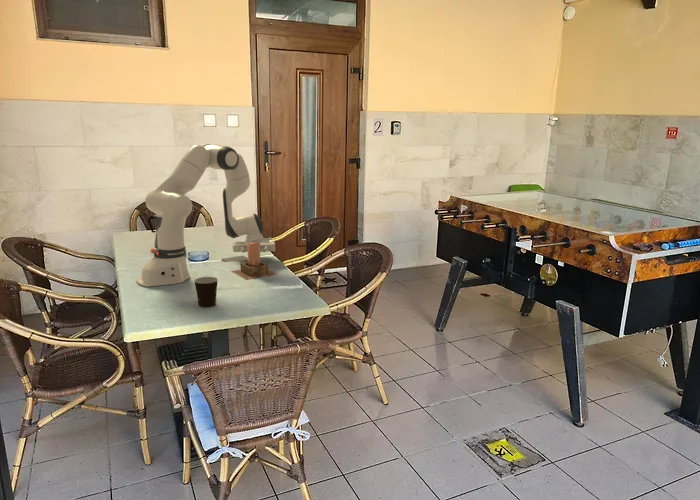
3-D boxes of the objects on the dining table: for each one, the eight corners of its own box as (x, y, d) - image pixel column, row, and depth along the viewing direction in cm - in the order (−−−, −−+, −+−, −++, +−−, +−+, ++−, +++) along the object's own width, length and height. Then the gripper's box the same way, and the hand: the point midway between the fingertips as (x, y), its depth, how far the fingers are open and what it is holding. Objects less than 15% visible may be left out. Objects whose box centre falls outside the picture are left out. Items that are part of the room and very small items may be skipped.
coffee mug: (212, 309, 199) (211, 284, 196) (191, 307, 200) (190, 282, 198) (225, 299, 210) (224, 275, 207) (205, 297, 211) (204, 273, 209)
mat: (231, 265, 257) (231, 264, 256) (221, 260, 266) (221, 258, 266) (253, 262, 264) (253, 260, 264) (243, 256, 273) (243, 255, 273)
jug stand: (246, 282, 232) (246, 271, 230) (230, 273, 244) (230, 262, 243) (278, 276, 241) (278, 265, 240) (261, 268, 253) (261, 257, 252)
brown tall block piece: (248, 270, 244) (247, 241, 241) (260, 270, 245) (259, 241, 242) (247, 276, 237) (247, 245, 233) (260, 275, 238) (259, 245, 234)
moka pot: (179, 245, 295) (177, 210, 290) (156, 250, 282) (154, 213, 277) (168, 242, 300) (166, 208, 295) (145, 248, 287) (142, 211, 282)
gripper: (232, 238, 259) (231, 244, 246) (274, 237, 262) (275, 243, 249) (233, 250, 260) (231, 257, 247) (274, 249, 264) (275, 256, 250)
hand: (253, 250), depth 248 cm, fingers open, 8 cm apart
